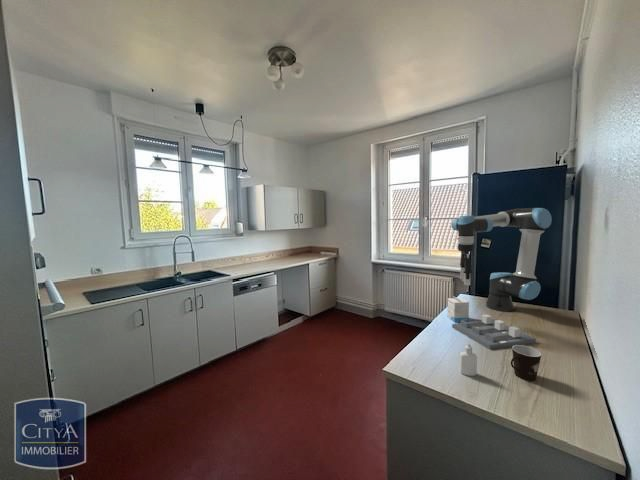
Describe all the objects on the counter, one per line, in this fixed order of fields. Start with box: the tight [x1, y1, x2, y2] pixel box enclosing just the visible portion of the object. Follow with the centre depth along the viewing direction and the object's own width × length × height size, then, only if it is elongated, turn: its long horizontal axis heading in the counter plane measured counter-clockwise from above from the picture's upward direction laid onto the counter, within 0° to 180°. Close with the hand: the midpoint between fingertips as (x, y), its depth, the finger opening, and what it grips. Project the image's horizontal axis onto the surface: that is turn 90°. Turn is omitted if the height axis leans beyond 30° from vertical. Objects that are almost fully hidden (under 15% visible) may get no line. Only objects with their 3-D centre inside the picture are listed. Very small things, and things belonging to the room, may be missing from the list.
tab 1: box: [481, 314, 492, 324], centre depth 140 cm, size 3×3×4 cm
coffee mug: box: [510, 344, 542, 382], centre depth 98 cm, size 12×9×10 cm
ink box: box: [447, 295, 470, 323], centre depth 151 cm, size 9×8×13 cm
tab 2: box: [494, 319, 506, 331], centre depth 133 cm, size 3×3×4 cm
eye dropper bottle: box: [459, 342, 478, 377], centre depth 100 cm, size 4×6×12 cm
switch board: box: [451, 318, 537, 350], centre depth 132 cm, size 26×24×4 cm
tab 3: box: [509, 326, 521, 338], centre depth 125 cm, size 3×3×4 cm
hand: (465, 281), depth 143 cm, fingers open, 13 cm apart
